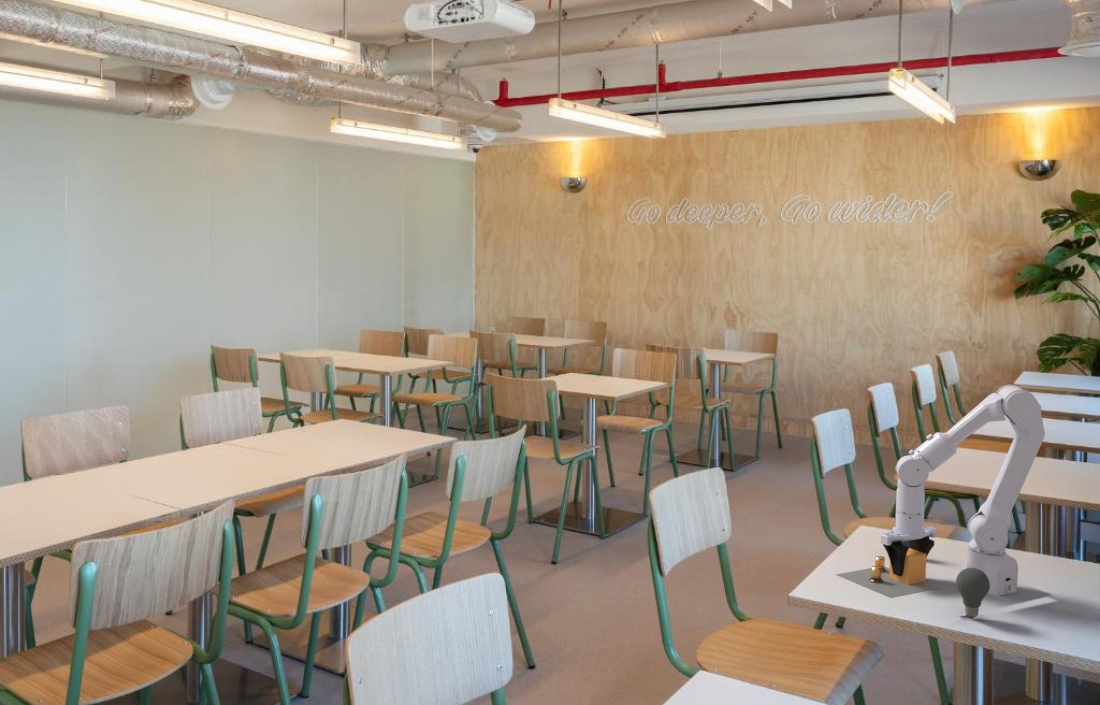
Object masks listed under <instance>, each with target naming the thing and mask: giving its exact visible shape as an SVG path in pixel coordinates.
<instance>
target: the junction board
mask: <svg viewBox="0 0 1100 705" xmlns="http://www.w3.org/2000/svg"><path fill="white" fill-rule="evenodd" d="M884 568H885V569H886V572H881V579H883V583H873V582H871V581H869V579H870V578H871V577H872V567H870V568H865V569H858V570H853V571H846V572H843V573H841V572H840V573H836V574H835V576H837V577H840V578H843V579H844V580H847V581H849V582H852V583H853V584H856V585H859V586H861V587H864V588H866V589H869V590H871V591H873V592H875V593H878V594H881V595H883V596H885V597H886V598H887V597H888V598H890V599H893V598H897V597H899V598H900V597H903V596H907V595H913V594H918V593H922V592H927V591H932V590H937V589H940V587H939V586H936V585H933V584H931V583H928V582H926V581H923V582H918V583H913V584H908V585H907V584H905V583H902V582H900V581H897V580H895V579H892V578H890V577H889V571H890V567H887V566H885V567H884Z"/></svg>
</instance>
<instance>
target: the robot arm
mask: <svg viewBox="0 0 1100 705" xmlns="http://www.w3.org/2000/svg"><path fill="white" fill-rule="evenodd" d="M1022 388H1023V387H1020V386H1019V385H1015V384H1005V385H1002V386H1001V387H1000V388H998V389H997V390H996V392H992V393H991V394H989V395H988V396H987V397H985V398H984V399H983V400H982V401H981V402H980V403H978V405H977V406H975V407H974V408H973V409H972V410H971V411H969V412H968V413H966V415H965V416H964V417H962V418H961V419H959V421H958V422H957V423H955V424H954V425H953V426H952V427H951V428H950V429H948V431H946V432H935V433H934V434H932V433H930V434H928V435H927V436H925V438H926V439H927V440H925V441H924V442H922V443H921V444H920V445H919V446H918V447H917V448H915V449H914V450H913V449H911V450H909V451H908V455H904V456H902V457H900V458H899V460H898V461H897V464H896V465H895V467H894V471H895V472H896V475H897V476H898V478H897V483H896V486H897V489H896V493H895V494H896V496H895V498H896V499H895V513H896V520H895V519H894V526H893V527H892V529H891V530H890V531H888V532H886V533H882V534H880V544H882V546H883V547H884V549H885V552H886V553H887V555H888V559H889V563H890V562H891V566H892V571H893V574H895V575H898V576H902V575H903V571H904V562H905V557H906V554H907V552H908V549H909V547H906V546H903V544H902V542H904V541H909V543H910V547H911V549H913V550H916V551H919V552H922V553H925V554H926V559H928V555H929V554H930V553H931V550H932V549H933V547H934V546H935V540H933V538H934V539H935V538H937V534H938V533H937V532H938V529H937V528H935V527H933V526H925V524H924V523H925V522H924V521H925V501H926V500H925V499H926V498H925V496H926V495H925V494H926V492H925V483H927V481H928V478H929V475H930V474H929V473H932V472H934V471H935V470H936V469H938V468H939V467H940V466H941V465H943V464H944V463H946V462H947V461H948V460H949V459H950V458H952V457H953V456H955V454H957V448H958V444H960V443H962V441H964V440H965V439H967V438H968V437H969V436H971V435H972V434H974V433H975V432H976V431H978V430H980V429H981V428H982V427H983V426H985V425H986V424H988V423H990V422H1001V421H1002V422H1003V421H1007V419H1008V421H1009V423H1010V425H1011V427H1012V429H1013V430H1014V432H1015V436H1014V438H1013V440H1012V442H1011V445H1010V447H1009V449H1008V451H1007V453H1006V456H1005V457H1004V460H1003V463H1002V465H1001V467H1000V469H999V472H998V474H997V476H996V478H995V481H994V482H993V486H992V487H991V490H990V492H989V495H988V497H987V499H986V501H985V502H984V503H982V504H981V505H980V506H979V509H978V510H977V512H976V514H974V515H973V516H972V517H970V519H969V520H968V522H967V531H968V534H969V536H971V540H970V541H969V543H968V544H967V566H966V568H977V569H979V570H981V571H983V572H984V573H985V574H986V575H987V577H988V579H989V582H990V589H989V591H988V593H987V594H992V595H993V596H998V597H999V596H1003V595H1009V594H1012V593H1016V592H1018V576H1019V573H1018V572H1019V566H1018V565H1019V564H1018V562H1017V559H1016V558H1014V557H1012V556H1010V555H1009V554H1008V553H1007V551H1006V547H1007V546H1008V542H1009V535H1008V534H1009V528H1010V526H1011V519H1012V516H1011V515H1012V511H1013V509H1014V506H1015V505H1016V502H1017V500H1018V497H1019V495H1020V492H1021V490H1022V488H1023V487H1024V485H1025V484H1024V483H1025V481H1026V479H1027V477H1028V476H1029V472H1030V470H1031V469H1032V466H1033V463H1034V461H1035V459H1036V457H1037V454H1038V453H1039V450H1040V447H1042V446H1041V445H1042V443H1043V441H1044V439H1045V436H1046V432H1045V426H1044V421H1043V416H1042V406H1041V404H1040V402H1038V400H1037V398H1036V397H1035V395H1034V394H1033V393H1031V392H1030V391H1028V390H1026V389H1022ZM930 538H932V539H930Z"/></svg>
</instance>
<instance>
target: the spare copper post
mask: <svg viewBox="0 0 1100 705" xmlns="http://www.w3.org/2000/svg"><path fill="white" fill-rule="evenodd" d="M885 560H886V558H885V556H881V555H876V556H875V557H874V566H879V567H881V568H882V572H886V569H885V568H884V567H886V566H885V563H886V562H885Z"/></svg>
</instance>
